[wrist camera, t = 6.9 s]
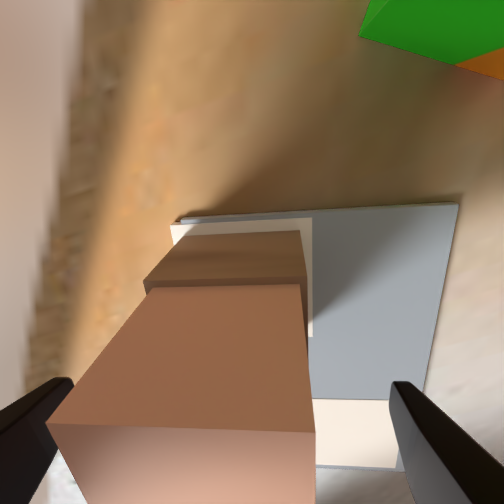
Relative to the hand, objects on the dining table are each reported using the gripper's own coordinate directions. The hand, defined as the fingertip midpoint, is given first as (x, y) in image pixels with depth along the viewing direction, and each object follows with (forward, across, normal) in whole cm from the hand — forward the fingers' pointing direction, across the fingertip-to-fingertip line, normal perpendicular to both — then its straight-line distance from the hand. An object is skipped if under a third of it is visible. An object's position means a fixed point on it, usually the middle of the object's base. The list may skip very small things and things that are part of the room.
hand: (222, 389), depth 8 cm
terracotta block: (+2, 0, 0) cm, 2 cm away
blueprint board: (+6, -3, +5) cm, 9 cm away
